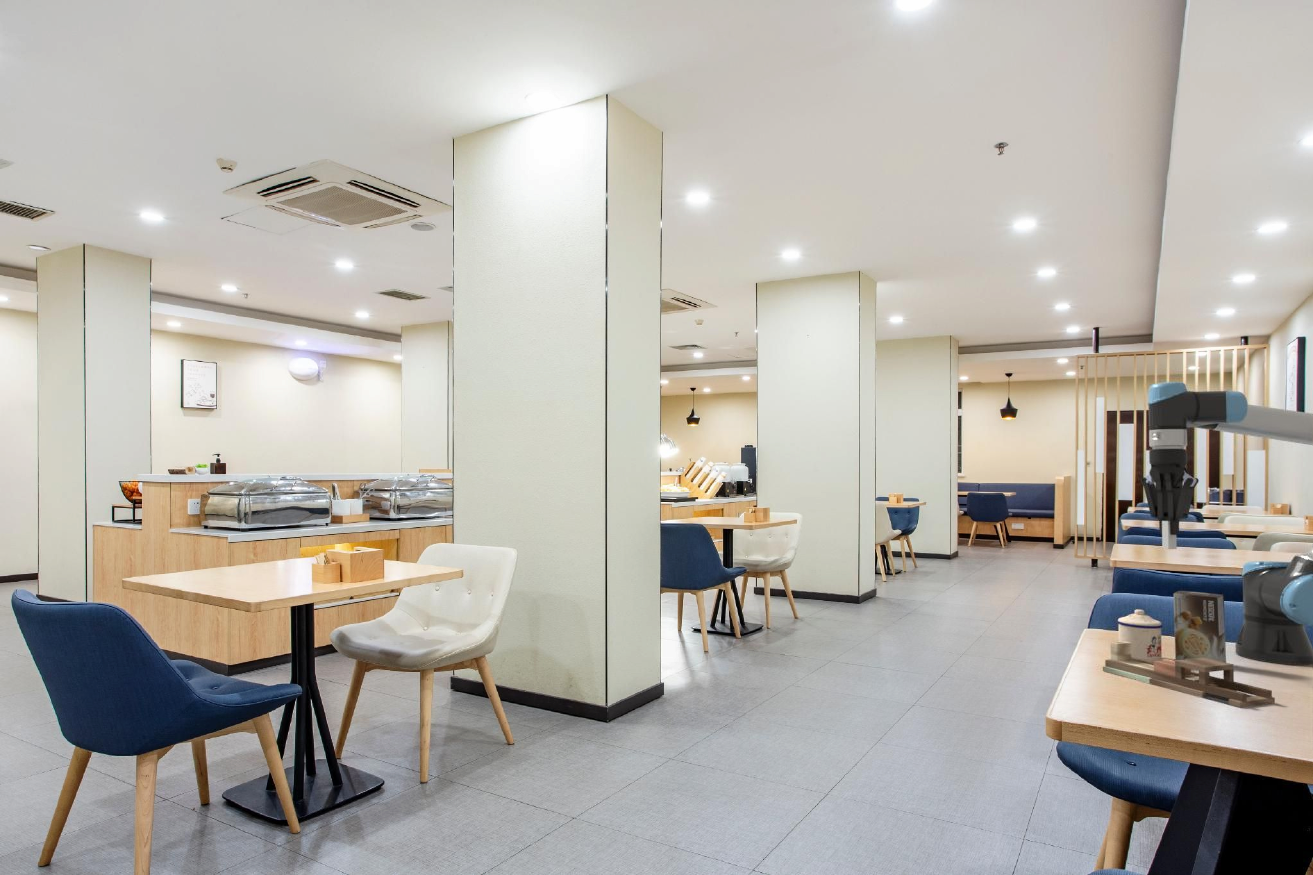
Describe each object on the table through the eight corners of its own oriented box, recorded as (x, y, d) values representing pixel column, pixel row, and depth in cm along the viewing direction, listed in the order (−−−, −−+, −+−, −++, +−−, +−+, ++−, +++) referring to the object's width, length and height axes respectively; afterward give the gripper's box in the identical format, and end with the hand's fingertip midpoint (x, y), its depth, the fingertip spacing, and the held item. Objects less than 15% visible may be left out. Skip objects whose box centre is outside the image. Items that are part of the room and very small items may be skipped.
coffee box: (1227, 664, 184) (1226, 594, 184) (1220, 668, 179) (1219, 597, 180) (1181, 657, 190) (1180, 589, 191) (1173, 661, 186) (1172, 592, 187)
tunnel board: (1135, 667, 179) (1134, 641, 179) (1274, 702, 152) (1274, 672, 152) (1102, 671, 175) (1102, 644, 175) (1239, 707, 148) (1239, 676, 148)
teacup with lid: (1155, 666, 180) (1155, 614, 181) (1112, 659, 187) (1111, 609, 188) (1171, 658, 188) (1171, 609, 189) (1129, 652, 195) (1128, 604, 196)
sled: (1125, 662, 178) (1124, 641, 178) (1208, 683, 161) (1208, 659, 161) (1110, 664, 176) (1110, 642, 177) (1193, 685, 159) (1193, 661, 159)
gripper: (1131, 448, 191) (1132, 546, 190) (1183, 447, 179) (1185, 551, 178) (1153, 449, 194) (1154, 546, 193) (1206, 448, 182) (1208, 551, 181)
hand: (1169, 548), depth 185 cm, fingers closed
